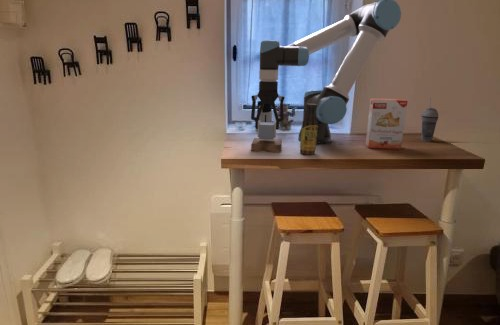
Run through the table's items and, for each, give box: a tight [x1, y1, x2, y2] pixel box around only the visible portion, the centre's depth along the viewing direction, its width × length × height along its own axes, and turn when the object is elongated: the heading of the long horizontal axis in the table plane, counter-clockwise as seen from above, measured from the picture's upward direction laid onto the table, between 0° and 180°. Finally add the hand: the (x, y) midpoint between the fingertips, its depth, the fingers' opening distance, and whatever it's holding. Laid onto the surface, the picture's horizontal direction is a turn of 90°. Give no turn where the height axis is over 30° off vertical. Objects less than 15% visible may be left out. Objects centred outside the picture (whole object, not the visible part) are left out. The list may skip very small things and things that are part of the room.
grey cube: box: [258, 122, 275, 140], centre depth 154 cm, size 6×6×6 cm
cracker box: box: [365, 98, 408, 150], centre depth 157 cm, size 14×6×21 cm, turn 86°
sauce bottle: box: [299, 104, 318, 156], centre depth 146 cm, size 6×6×20 cm
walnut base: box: [250, 137, 283, 153], centre depth 156 cm, size 12×12×3 cm
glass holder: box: [255, 100, 273, 132], centre depth 192 cm, size 9×14×15 cm, turn 162°
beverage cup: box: [420, 97, 439, 143], centre depth 172 cm, size 7×7×20 cm
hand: (266, 136), depth 155 cm, fingers closed on grey cube, 6 cm apart
